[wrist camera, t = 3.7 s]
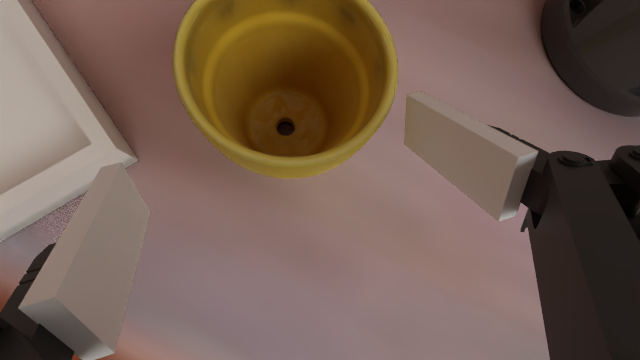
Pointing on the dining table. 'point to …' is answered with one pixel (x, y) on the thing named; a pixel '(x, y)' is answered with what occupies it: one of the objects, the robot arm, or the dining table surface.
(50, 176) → the white tray
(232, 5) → the plant pot
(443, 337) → the dining table surface
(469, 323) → the dining table surface
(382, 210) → the dining table surface
